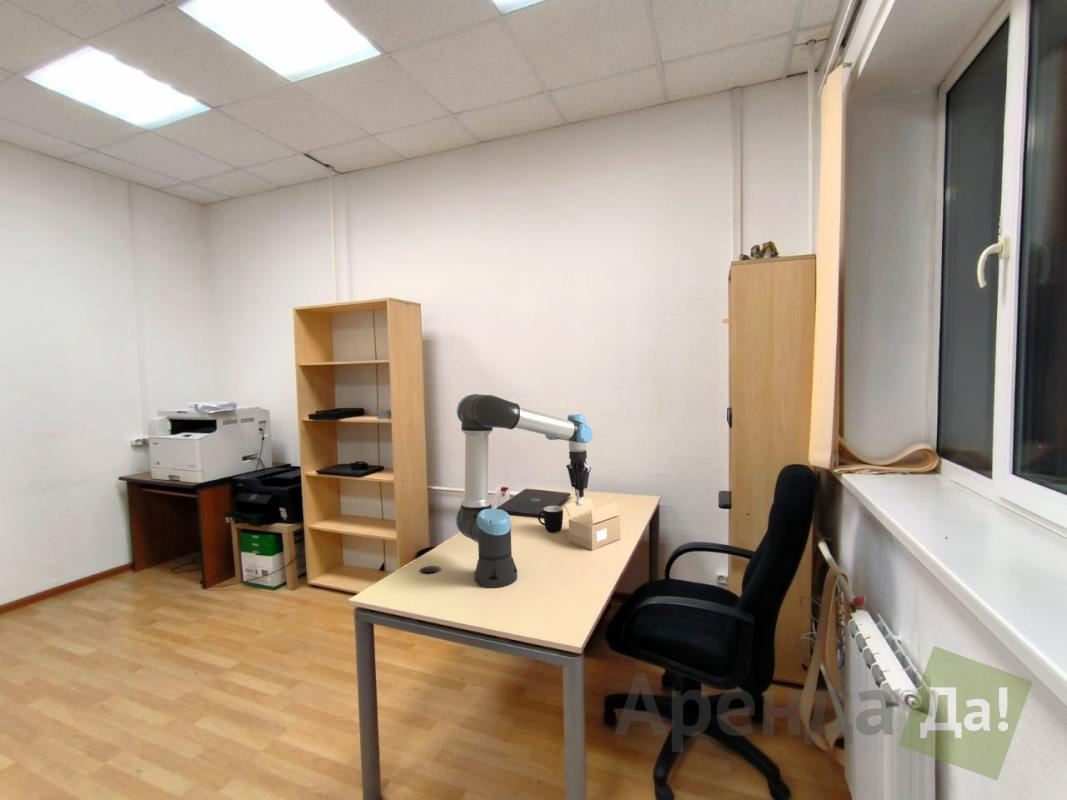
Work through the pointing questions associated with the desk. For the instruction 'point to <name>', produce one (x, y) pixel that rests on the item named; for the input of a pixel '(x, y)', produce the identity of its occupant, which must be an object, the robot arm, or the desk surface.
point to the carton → (593, 531)
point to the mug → (552, 518)
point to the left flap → (580, 507)
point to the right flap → (604, 512)
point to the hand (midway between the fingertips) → (579, 503)
